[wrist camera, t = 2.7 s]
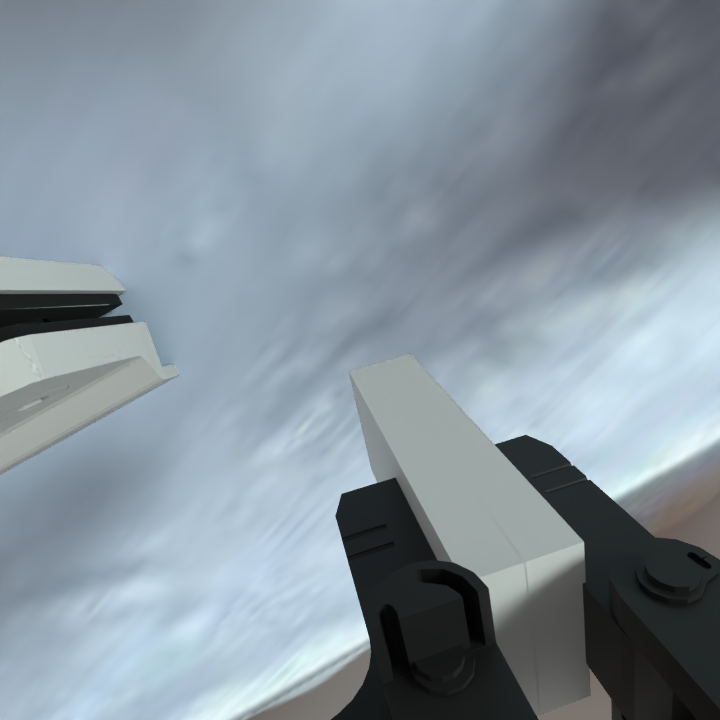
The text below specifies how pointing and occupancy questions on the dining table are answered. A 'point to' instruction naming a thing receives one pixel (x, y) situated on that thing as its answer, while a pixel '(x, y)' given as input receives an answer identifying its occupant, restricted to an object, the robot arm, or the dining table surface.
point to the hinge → (65, 354)
